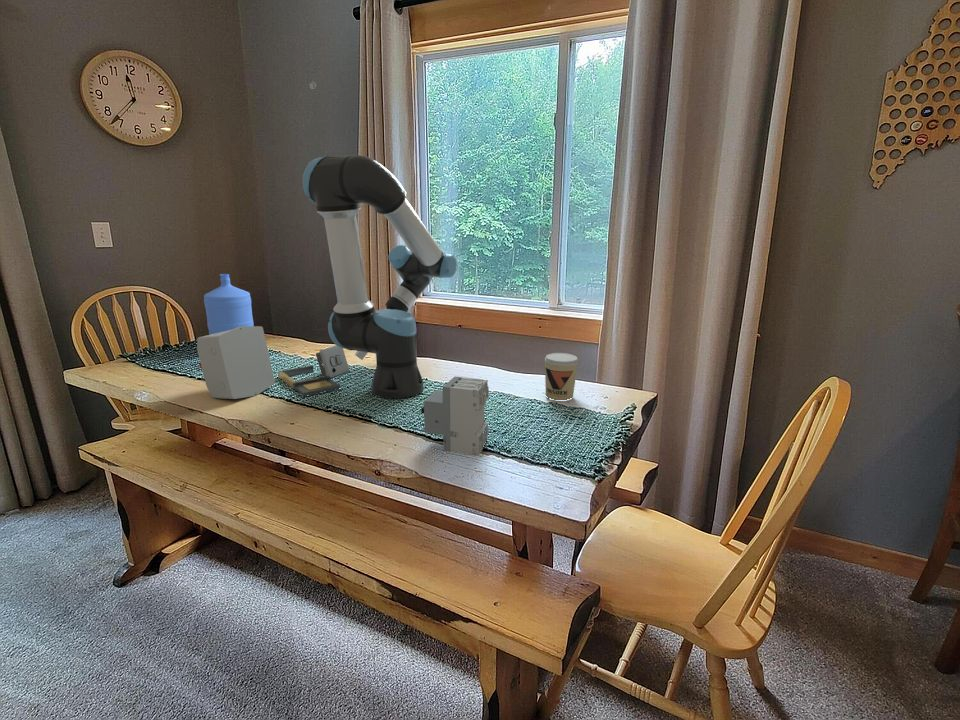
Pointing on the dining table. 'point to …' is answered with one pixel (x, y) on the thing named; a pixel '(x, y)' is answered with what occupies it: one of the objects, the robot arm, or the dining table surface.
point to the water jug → (227, 307)
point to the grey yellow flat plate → (308, 381)
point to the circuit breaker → (458, 414)
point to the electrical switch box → (235, 362)
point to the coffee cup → (560, 375)
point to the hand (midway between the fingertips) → (358, 357)
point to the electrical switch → (332, 361)
